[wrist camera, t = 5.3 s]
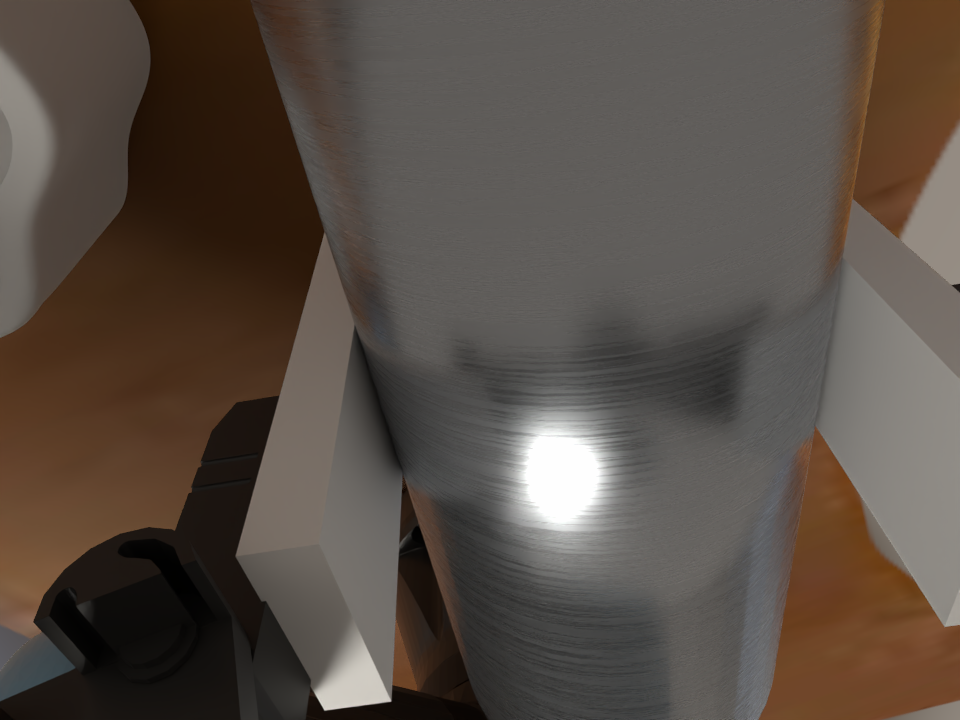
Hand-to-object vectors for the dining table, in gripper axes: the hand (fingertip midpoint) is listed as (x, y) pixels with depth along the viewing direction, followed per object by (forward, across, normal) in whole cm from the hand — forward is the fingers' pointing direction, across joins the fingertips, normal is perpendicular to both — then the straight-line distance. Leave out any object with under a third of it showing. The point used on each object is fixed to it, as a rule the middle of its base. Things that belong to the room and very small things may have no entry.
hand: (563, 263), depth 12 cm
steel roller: (-2, 0, 0) cm, 2 cm away
